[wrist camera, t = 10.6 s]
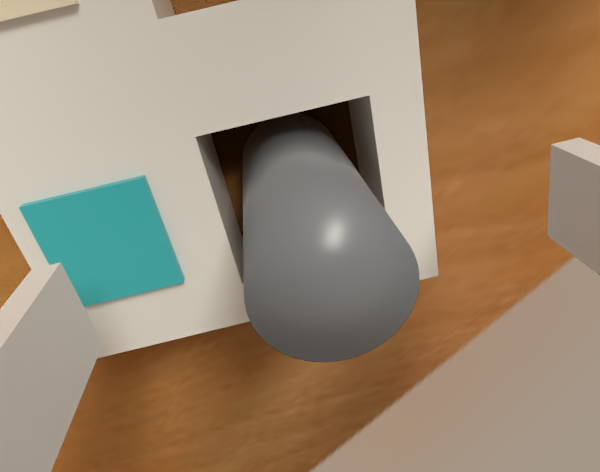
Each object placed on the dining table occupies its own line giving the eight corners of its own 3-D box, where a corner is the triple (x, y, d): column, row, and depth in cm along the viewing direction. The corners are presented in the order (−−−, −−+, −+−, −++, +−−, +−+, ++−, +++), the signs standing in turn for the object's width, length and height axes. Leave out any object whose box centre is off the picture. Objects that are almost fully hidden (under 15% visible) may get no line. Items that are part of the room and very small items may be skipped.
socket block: (341, -319, 13) (382, -450, 9) (405, 230, 21) (441, 279, 18) (-140, -209, 13) (-296, -296, 9) (109, 302, 21) (80, 367, 18)
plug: (329, 102, 19) (411, 192, 10) (344, 193, 20) (425, 340, 11) (231, 125, 18) (222, 236, 10) (255, 214, 20) (267, 378, 11)
